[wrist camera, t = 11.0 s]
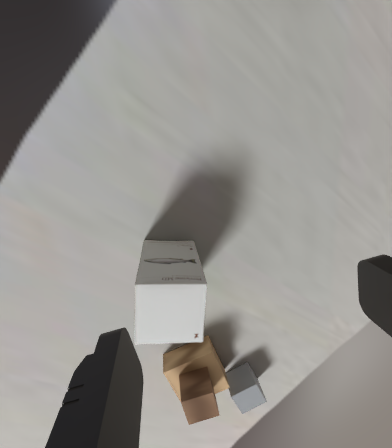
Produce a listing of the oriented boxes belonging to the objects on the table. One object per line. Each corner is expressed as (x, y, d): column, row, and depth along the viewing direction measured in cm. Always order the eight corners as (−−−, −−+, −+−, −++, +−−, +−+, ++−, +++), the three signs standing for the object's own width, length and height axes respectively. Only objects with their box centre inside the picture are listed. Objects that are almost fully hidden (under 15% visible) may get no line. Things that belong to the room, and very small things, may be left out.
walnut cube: (207, 366, 40) (212, 392, 36) (213, 387, 42) (219, 415, 37) (178, 374, 40) (181, 402, 36) (186, 395, 41) (188, 424, 37)
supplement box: (194, 238, 38) (210, 283, 26) (191, 284, 40) (204, 345, 28) (142, 237, 37) (133, 283, 25) (142, 284, 39) (133, 348, 27)
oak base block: (207, 333, 43) (212, 351, 39) (224, 367, 46) (229, 387, 42) (163, 352, 43) (163, 372, 39) (182, 385, 46) (183, 407, 42)
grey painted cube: (247, 361, 46) (256, 384, 41) (257, 378, 47) (266, 401, 43) (224, 373, 46) (231, 396, 42) (235, 389, 47) (242, 414, 43)
